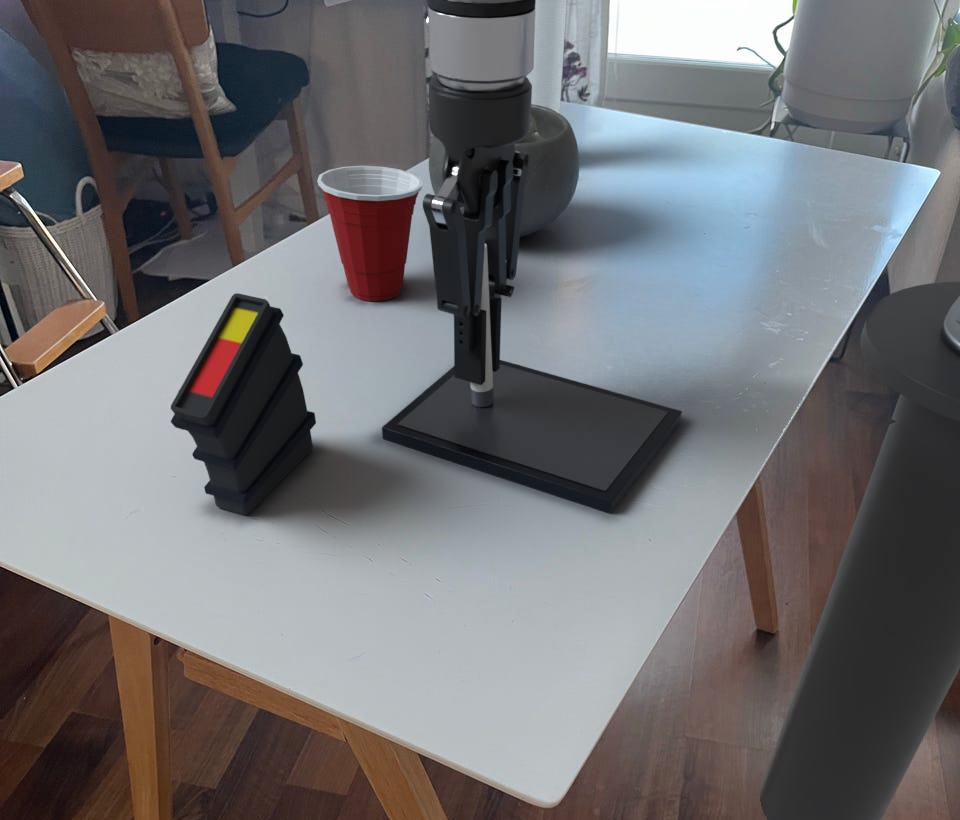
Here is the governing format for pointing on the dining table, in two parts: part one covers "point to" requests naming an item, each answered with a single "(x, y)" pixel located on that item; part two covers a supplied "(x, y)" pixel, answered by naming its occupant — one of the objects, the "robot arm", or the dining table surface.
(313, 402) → the dining table surface
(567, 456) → the tablet
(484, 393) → the stylus
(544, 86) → the paper towel roll
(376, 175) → the plastic cup
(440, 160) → the bowl
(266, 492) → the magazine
